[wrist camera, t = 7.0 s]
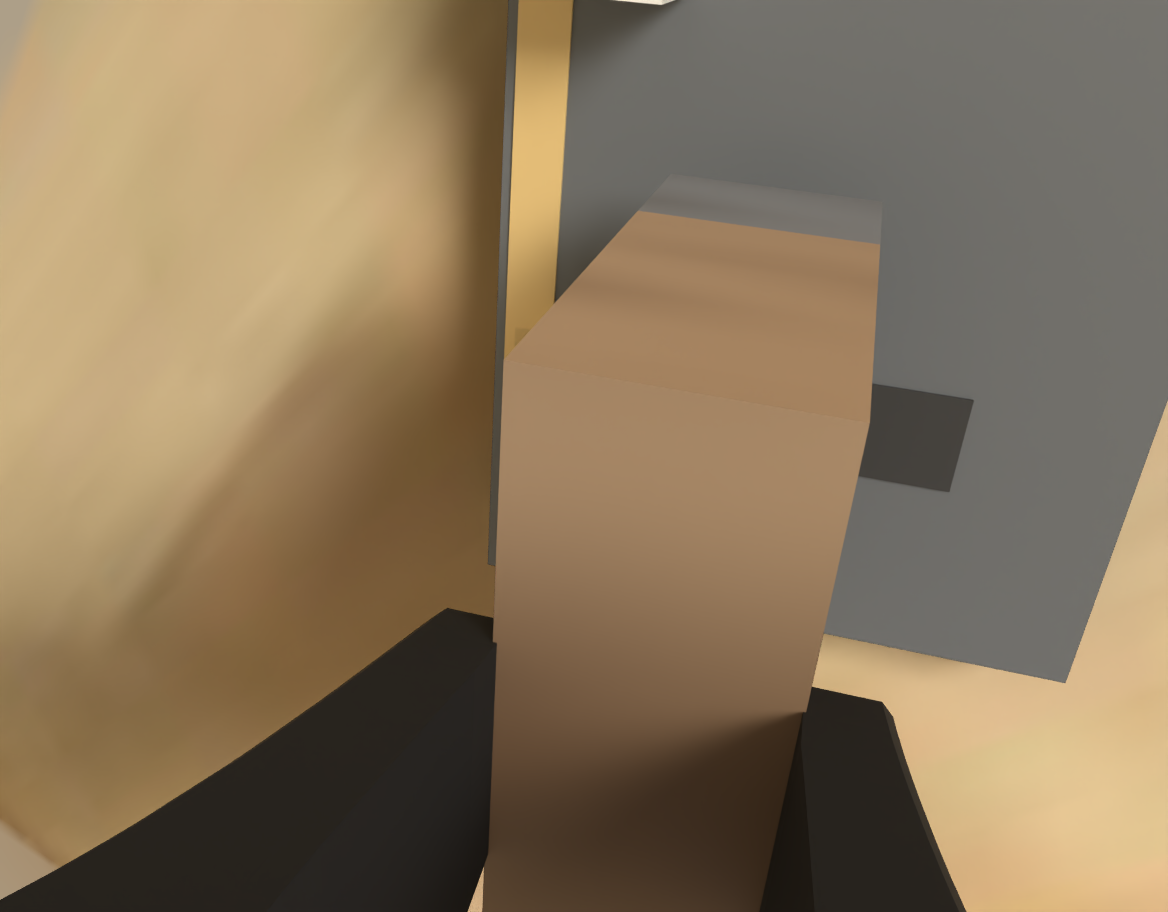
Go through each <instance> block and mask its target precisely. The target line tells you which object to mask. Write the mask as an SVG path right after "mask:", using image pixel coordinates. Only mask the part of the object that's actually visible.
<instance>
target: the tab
mask: <svg viewBox="0 0 1168 912" xmlns="http://www.w3.org/2000/svg"><path fill="white" fill-rule="evenodd" d="M617 1H627V2H637V3H648V4H658V5H663V4H666V3H668V2H671V1H674V0H617Z"/></svg>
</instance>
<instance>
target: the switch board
mask: <svg viewBox="0 0 1168 912" xmlns="http://www.w3.org/2000/svg"><path fill="white" fill-rule="evenodd" d="M670 174H676V175H684V176H691V177H699V178H706V179H714V180H722V181H729V182H737V183H744V184H752V185H760V186H767V187H775V188H782V189H790V190H797V191H805V192H813V193H820V194H828V195H835V196H843V197H851V198H858V199H866V200H873V201H881V202H883V207H882V224H881V241H880V258H879V275H878V292H877V309H876V326H875V343H874V360H873V377H872V394H871V411H870V424H869V429H868V433H867V438H866V443H865V447H864V452H863V456H862V461H861V465H860V470H859V474H858V479H857V483H856V488H855V493H854V497H853V502H852V506H851V511H850V515H849V520H848V524H847V529H846V533H845V538H844V542H843V547H842V552H841V556H840V561H839V565H838V570H837V574H836V579H835V583H834V588H833V592H832V597H831V602H830V606H829V611H828V615H827V620H826V624H825V629H824V634H829V635H834V636H839V637H844V638H848V639H853V640H858V641H863V642H868V643H873V644H878V645H882V646H887V647H892V648H897V649H902V650H907V651H912V652H916V653H921V654H926V655H931V656H936V657H941V658H946V659H950V660H955V661H960V662H965V663H970V664H975V665H980V666H984V667H989V668H994V669H999V670H1004V671H1009V672H1014V673H1018V674H1023V675H1028V676H1033V677H1038V678H1043V679H1048V680H1052V681H1057V682H1062V683H1066V680H1067V677H1068V674H1069V672H1070V669H1071V666H1072V663H1073V661H1074V658H1075V655H1076V652H1077V650H1078V647H1079V644H1080V641H1081V638H1082V636H1083V633H1084V630H1085V627H1086V625H1087V622H1088V619H1089V616H1090V614H1091V611H1092V608H1093V605H1094V603H1095V600H1096V597H1097V594H1098V591H1099V589H1100V586H1101V583H1102V580H1103V578H1104V575H1105V572H1106V569H1107V567H1108V564H1109V561H1110V558H1111V556H1112V553H1113V550H1114V547H1115V544H1116V542H1117V539H1118V536H1119V533H1120V531H1121V528H1122V525H1123V522H1124V520H1125V517H1126V514H1127V511H1128V509H1129V506H1130V503H1131V500H1132V497H1133V495H1134V492H1135V489H1136V486H1137V484H1138V481H1139V478H1140V475H1141V473H1142V470H1143V467H1144V464H1145V462H1146V459H1147V456H1148V453H1149V450H1150V448H1151V445H1152V442H1153V439H1154V437H1155V434H1156V431H1157V428H1158V426H1159V423H1160V420H1161V417H1162V414H1163V412H1164V409H1165V406H1166V403H1167V401H1168V0H674V1H671V2H668V3H666V4H663V5H658V4H648V3H637V2H627V1H617V0H508V26H507V53H506V81H505V108H504V135H503V163H502V190H501V218H500V245H499V272H498V300H497V327H496V354H495V382H494V409H493V437H492V464H491V491H490V519H489V546H488V564H489V565H494V566H496V546H497V520H498V494H499V468H500V442H501V416H502V390H503V364H504V359H505V358H506V357H507V356H508V355H509V353H510V352H511V351H512V350H513V349H514V348H515V347H516V346H517V345H518V343H519V342H520V341H521V340H522V339H523V338H524V337H525V336H526V335H527V333H528V332H529V331H530V330H531V329H532V328H533V327H534V326H535V325H536V323H537V322H538V321H539V320H540V319H541V318H542V317H543V316H544V315H545V313H546V312H547V311H548V310H549V309H550V308H551V307H552V306H553V304H554V303H555V302H556V301H557V300H558V299H559V298H560V297H561V296H562V295H563V293H564V292H565V291H566V290H567V289H568V288H569V287H570V286H571V285H572V283H573V282H574V281H575V280H576V279H577V278H578V277H579V276H580V274H581V273H582V272H583V271H584V270H585V269H586V268H587V267H588V266H589V264H590V263H591V262H592V261H593V260H594V259H595V258H596V257H597V256H598V254H599V253H600V252H601V251H602V250H603V249H604V248H605V247H606V246H607V244H608V243H609V242H610V241H611V240H612V239H613V238H614V237H615V236H616V234H617V233H618V232H619V231H620V230H621V229H622V228H623V227H624V226H625V224H626V223H627V222H628V221H629V220H630V219H631V218H632V217H633V216H634V214H635V213H636V212H637V211H638V210H639V209H640V208H641V207H642V206H643V204H644V203H645V202H646V201H647V200H648V199H649V198H650V197H651V196H652V194H653V193H654V192H655V191H656V190H657V189H658V188H659V187H660V186H661V184H662V183H663V182H664V181H665V180H666V179H667V178H668V177H669V176H670Z"/></svg>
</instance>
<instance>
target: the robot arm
mask: <svg viewBox="0 0 1168 912" xmlns="http://www.w3.org/2000/svg"><path fill="white" fill-rule="evenodd" d="M493 624H494V618H491V617H486V616H481V615H477V614H472V613H467V612H463V611H458V610H453V609H449V608H447V609H445V610H443V611H442V612H440V613H439V614H437V615H436V616H434V617H433V618H432V619H430V620H429V621H427V622H426V623H425V624H423V625H422V626H420V627H419V628H418V629H416V630H415V631H414V632H412V633H411V634H410V635H408V636H407V637H406V638H404V639H403V640H402V641H400V642H399V643H398V644H396V645H395V646H394V647H392V648H391V649H390V650H388V651H387V652H386V653H384V654H383V655H382V656H380V657H379V658H377V659H376V660H375V661H373V662H372V663H371V664H369V665H368V666H367V667H365V668H364V669H363V670H361V671H360V672H359V673H357V674H356V675H355V676H353V677H352V678H351V679H349V680H348V681H346V682H345V683H344V684H342V685H341V686H340V687H338V688H337V689H336V690H334V691H333V692H331V693H330V694H329V695H327V696H326V697H325V698H323V699H322V700H320V701H319V702H318V703H316V704H315V705H313V706H312V707H310V708H309V709H308V710H306V711H305V712H303V713H302V714H301V715H299V716H298V717H296V718H295V719H293V720H292V721H291V722H289V723H288V724H286V725H285V726H283V727H282V728H281V729H279V730H278V731H276V732H275V733H273V734H272V735H271V736H269V737H268V738H266V739H265V740H263V741H262V742H261V743H259V744H258V745H256V746H255V747H253V748H252V749H251V750H249V751H248V752H246V753H245V754H243V755H242V756H240V757H239V758H237V759H236V760H234V761H233V762H231V763H230V764H228V765H227V766H225V767H224V768H222V769H220V770H219V771H217V772H216V773H214V774H213V775H211V776H209V777H208V778H206V779H205V780H203V781H202V782H200V783H198V784H197V785H195V786H194V787H192V788H191V789H189V790H187V791H186V792H184V793H183V794H181V795H180V796H178V797H176V798H175V799H173V800H172V801H170V802H169V803H167V804H165V805H164V806H162V807H161V808H159V809H158V810H156V811H154V812H153V813H151V814H150V815H148V816H147V817H145V818H144V819H142V820H140V821H139V822H137V823H136V824H134V825H132V826H131V827H129V828H127V829H126V830H124V831H122V832H121V833H119V834H117V835H115V836H114V837H112V838H110V839H109V840H107V841H105V842H104V843H102V844H100V845H98V846H97V847H95V848H93V849H92V850H90V851H88V852H87V853H85V854H83V855H81V856H80V857H78V858H76V859H74V860H73V861H71V862H69V863H67V864H65V865H64V866H62V867H60V868H58V869H57V870H55V871H53V872H51V873H50V874H48V875H46V876H44V877H42V878H40V879H38V880H37V881H35V882H33V883H31V884H29V885H27V886H25V887H23V888H22V889H20V890H18V891H16V892H14V893H12V894H10V895H8V896H7V897H5V898H3V899H1V900H0V912H468V909H469V906H470V903H471V900H472V898H473V895H474V892H475V889H476V887H477V884H478V881H479V878H480V875H481V873H482V870H483V867H484V864H485V862H486V859H487V856H488V850H489V825H490V801H491V777H492V752H493V728H494V703H495V679H496V654H497V643H495V642H493ZM759 912H966V910H965V908H964V906H963V903H962V901H961V899H960V897H959V894H958V892H957V890H956V888H955V886H954V883H953V881H952V879H951V877H950V874H949V872H948V869H947V867H946V865H945V862H944V860H943V857H942V855H941V853H940V850H939V848H938V845H937V843H936V840H935V838H934V835H933V833H932V830H931V827H930V825H929V822H928V820H927V817H926V815H925V812H924V809H923V807H922V804H921V802H920V799H919V796H918V794H917V791H916V788H915V785H914V782H913V780H912V777H911V774H910V771H909V768H908V765H907V762H906V759H905V756H904V753H903V750H902V747H901V743H900V740H899V737H898V734H897V730H896V726H895V723H894V719H893V716H892V715H891V714H890V712H889V711H888V709H887V708H886V707H885V705H884V704H883V702H880V701H875V700H871V699H866V698H861V697H857V696H852V695H847V694H843V693H838V692H833V691H829V690H824V689H820V688H815V687H812V688H811V692H810V697H809V702H808V706H807V711H806V712H803V714H802V719H801V723H800V728H799V732H798V737H797V742H796V746H795V751H794V755H793V760H792V764H791V769H790V774H789V778H788V783H787V787H786V792H785V796H784V801H783V806H782V810H781V815H780V819H779V824H778V829H777V833H776V838H775V842H774V847H773V851H772V856H771V861H770V865H769V870H768V874H767V879H766V883H765V888H764V893H763V897H762V902H761V906H760V911H759Z"/></svg>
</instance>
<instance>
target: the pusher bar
mask: <svg viewBox="0 0 1168 912" xmlns="http://www.w3.org/2000/svg"><path fill="white" fill-rule="evenodd" d="M882 207H883V202H881V201H873V200H866V199H858V198H851V197H843V196H835V195H828V194H820V193H813V192H805V191H797V190H790V189H782V188H775V187H767V186H760V185H752V184H744V183H737V182H729V181H722V180H714V179H706V178H699V177H691V176H684V175H676V174H670V176H669V177H668V178H667V179H666V180H665V181H664V182H663V183H662V184H661V186H660V187H659V188H658V189H657V190H656V191H655V192H654V193H653V194H652V196H651V197H650V198H649V199H648V200H647V201H646V202H645V203H644V204H643V206H642V207H641V208H640V209H639V210H638V211H637V212H636V213H635V214H634V216H633V217H632V218H631V219H630V220H629V221H628V222H627V223H626V224H625V226H624V227H623V228H622V229H621V230H620V231H619V232H618V233H617V234H616V236H615V237H614V238H613V239H612V240H611V241H610V242H609V243H608V244H607V246H606V247H605V248H604V249H603V250H602V251H601V252H600V253H599V254H598V256H597V257H596V258H595V259H594V260H593V261H592V262H591V263H590V264H589V266H588V267H587V268H586V269H585V270H584V271H583V272H582V273H581V274H580V276H579V277H578V278H577V279H576V280H575V281H574V282H573V283H572V285H571V286H570V287H569V288H568V289H567V290H566V291H565V292H564V293H563V295H562V296H561V297H560V298H559V299H558V300H557V301H556V302H555V303H554V305H553V306H552V307H551V308H550V309H549V310H548V311H547V312H546V313H545V315H544V316H543V317H542V318H541V319H540V320H539V321H538V322H537V323H536V325H535V326H534V327H533V328H532V329H531V330H530V331H529V332H528V333H527V335H526V336H525V337H524V338H523V339H522V340H521V341H520V342H519V343H518V345H517V346H516V347H515V348H514V349H513V350H512V351H511V352H510V353H509V355H508V356H507V357H506V358H505V359H504V364H503V390H502V416H501V442H500V468H499V494H498V520H497V546H496V572H495V598H494V624H493V642H495V643H497V654H496V679H495V703H494V728H493V752H492V777H491V801H490V825H489V850H488V856H487V859H486V862H485V864H484V883H483V909H482V912H759V911H760V906H761V902H762V897H763V893H764V888H765V883H766V879H767V874H768V870H769V865H770V861H771V856H772V851H773V847H774V842H775V838H776V833H777V829H778V824H779V819H780V815H781V810H782V806H783V801H784V796H785V792H786V787H787V783H788V778H789V774H790V769H791V764H792V760H793V755H794V751H795V746H796V742H797V737H798V732H799V728H800V723H801V719H802V714H803V712H806V711H807V706H808V702H809V697H810V692H811V688H812V683H813V679H814V674H815V670H816V665H817V661H818V656H819V652H820V647H821V642H822V638H823V633H824V629H825V624H826V620H827V615H828V611H829V606H830V602H831V597H832V592H833V588H834V583H835V579H836V574H837V570H838V565H839V561H840V556H841V552H842V547H843V542H844V538H845V533H846V529H847V524H848V520H849V515H850V511H851V506H852V502H853V497H854V493H855V488H856V483H857V479H858V474H859V470H860V465H861V461H862V456H863V452H864V447H865V443H866V438H867V433H868V429H869V424H870V411H871V394H872V377H873V360H874V343H875V326H876V309H877V292H878V275H879V258H880V241H881V224H882Z"/></svg>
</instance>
